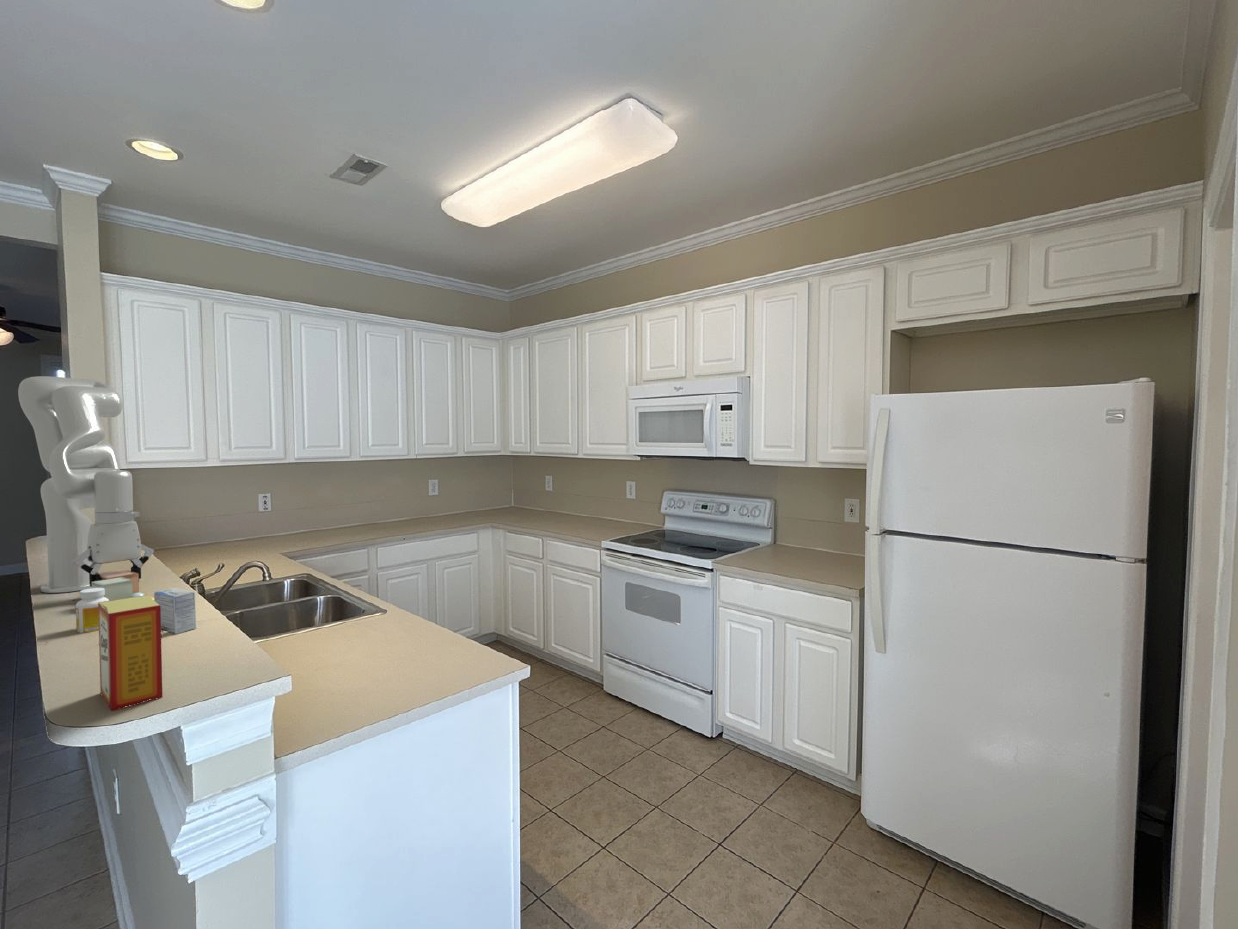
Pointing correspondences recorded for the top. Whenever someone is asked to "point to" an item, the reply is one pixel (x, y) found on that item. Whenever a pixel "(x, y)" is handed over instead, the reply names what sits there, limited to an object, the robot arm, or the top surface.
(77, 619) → the supplement bottle
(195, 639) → the top surface
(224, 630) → the top surface
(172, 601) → the medicine box
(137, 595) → the marble
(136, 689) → the baking soda box
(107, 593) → the sage green box
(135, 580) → the terracotta box
